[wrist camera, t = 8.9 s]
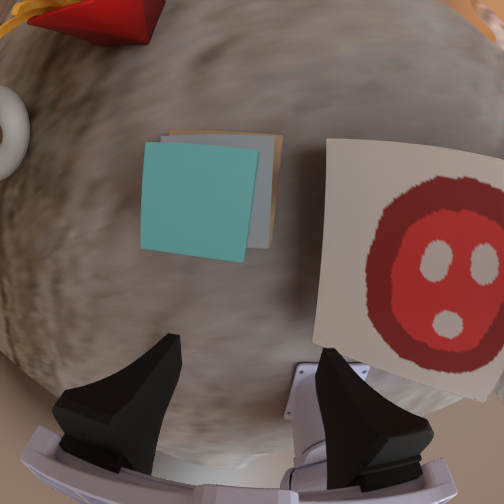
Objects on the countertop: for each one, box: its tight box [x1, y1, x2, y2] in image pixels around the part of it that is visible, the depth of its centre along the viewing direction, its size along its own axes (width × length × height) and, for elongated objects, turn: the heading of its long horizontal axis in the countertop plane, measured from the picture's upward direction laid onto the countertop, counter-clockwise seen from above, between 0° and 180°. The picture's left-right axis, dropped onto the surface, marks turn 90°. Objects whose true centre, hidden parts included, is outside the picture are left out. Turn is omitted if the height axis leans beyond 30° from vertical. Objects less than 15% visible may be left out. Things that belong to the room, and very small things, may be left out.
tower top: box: [161, 134, 274, 249], centre depth 18 cm, size 7×7×2 cm
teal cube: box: [140, 142, 260, 263], centre depth 14 cm, size 5×5×5 cm
